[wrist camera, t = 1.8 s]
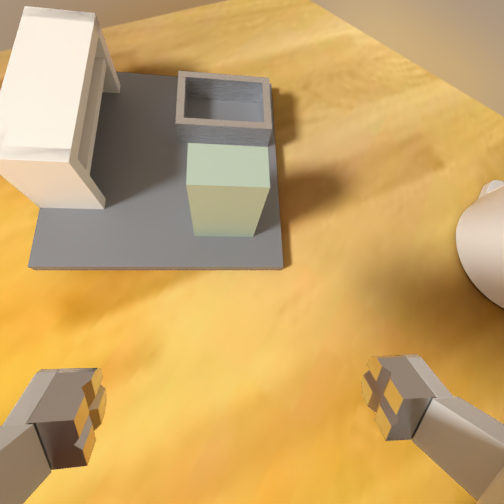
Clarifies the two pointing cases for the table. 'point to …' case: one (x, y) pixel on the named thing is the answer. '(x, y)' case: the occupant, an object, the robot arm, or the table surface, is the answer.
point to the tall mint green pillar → (226, 188)
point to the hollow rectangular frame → (223, 90)
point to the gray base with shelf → (112, 157)
